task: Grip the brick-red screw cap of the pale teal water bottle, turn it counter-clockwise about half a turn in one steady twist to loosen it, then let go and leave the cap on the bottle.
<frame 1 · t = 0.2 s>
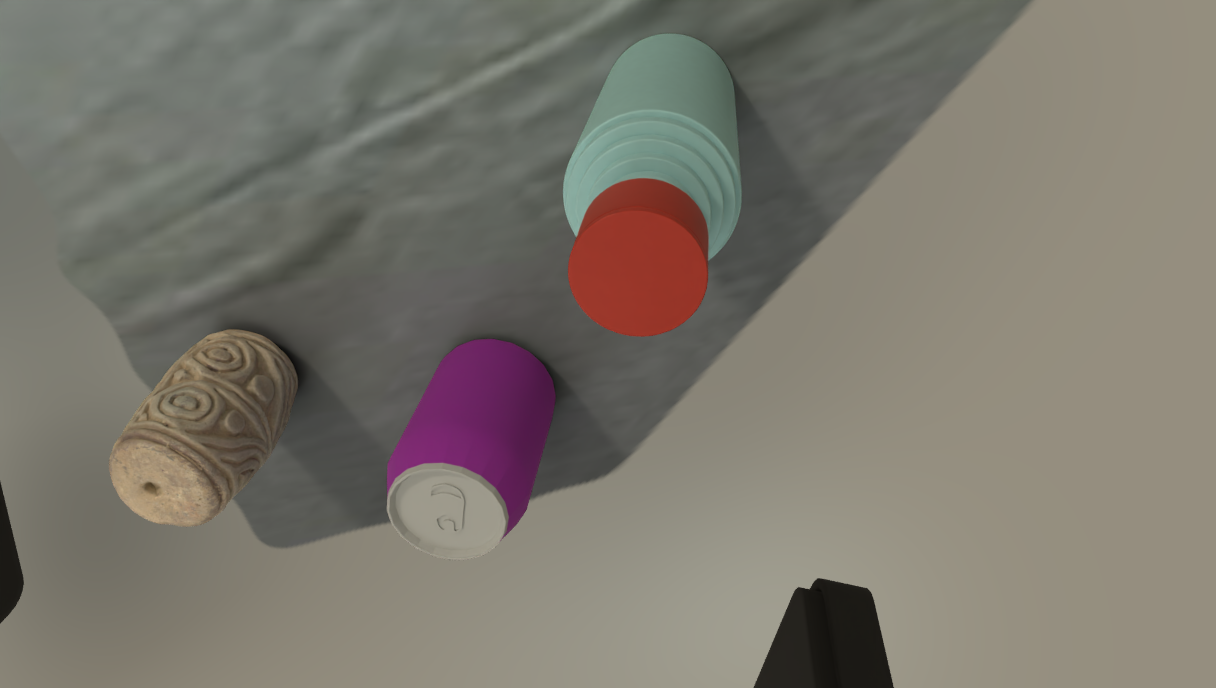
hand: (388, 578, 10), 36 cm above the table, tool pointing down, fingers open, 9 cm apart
water bottle: (668, 101, 42), on the table
carving: (262, 363, 54), on the table
beverage can: (499, 382, 53), on the table
cap: (638, 272, 26), point 20 cm above the table, screwed on, not yet turned
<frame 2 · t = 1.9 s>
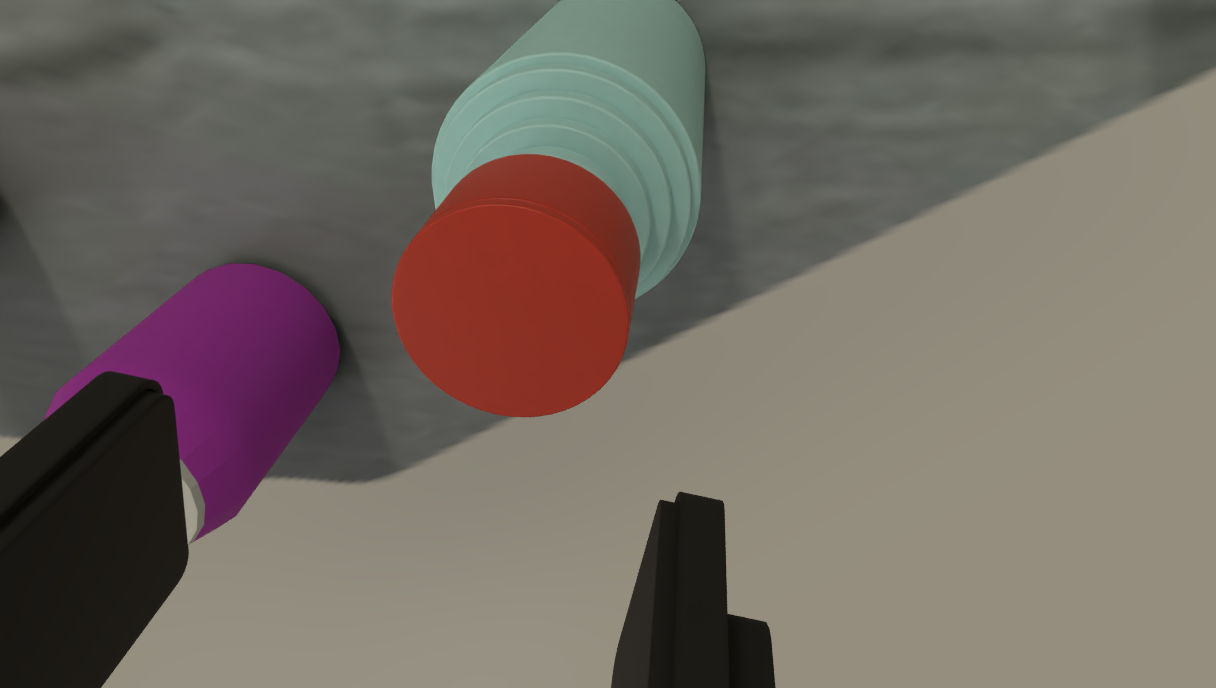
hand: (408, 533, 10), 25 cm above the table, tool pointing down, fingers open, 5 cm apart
water bottle: (618, 71, 32), on the table
beverage can: (270, 326, 40), on the table
cap: (512, 310, 15), point 20 cm above the table, screwed on, not yet turned
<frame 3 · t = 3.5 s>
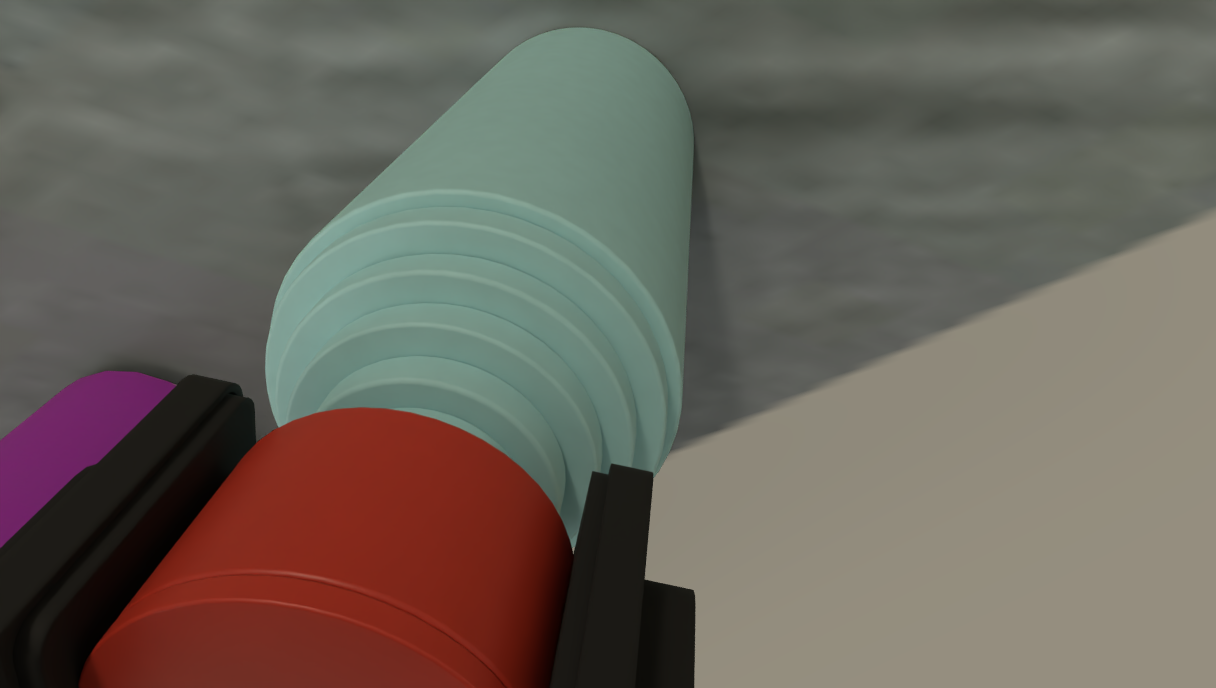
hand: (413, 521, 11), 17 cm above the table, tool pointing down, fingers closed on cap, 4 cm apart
water bottle: (582, 144, 25), on the table
beverage can: (165, 440, 33), on the table
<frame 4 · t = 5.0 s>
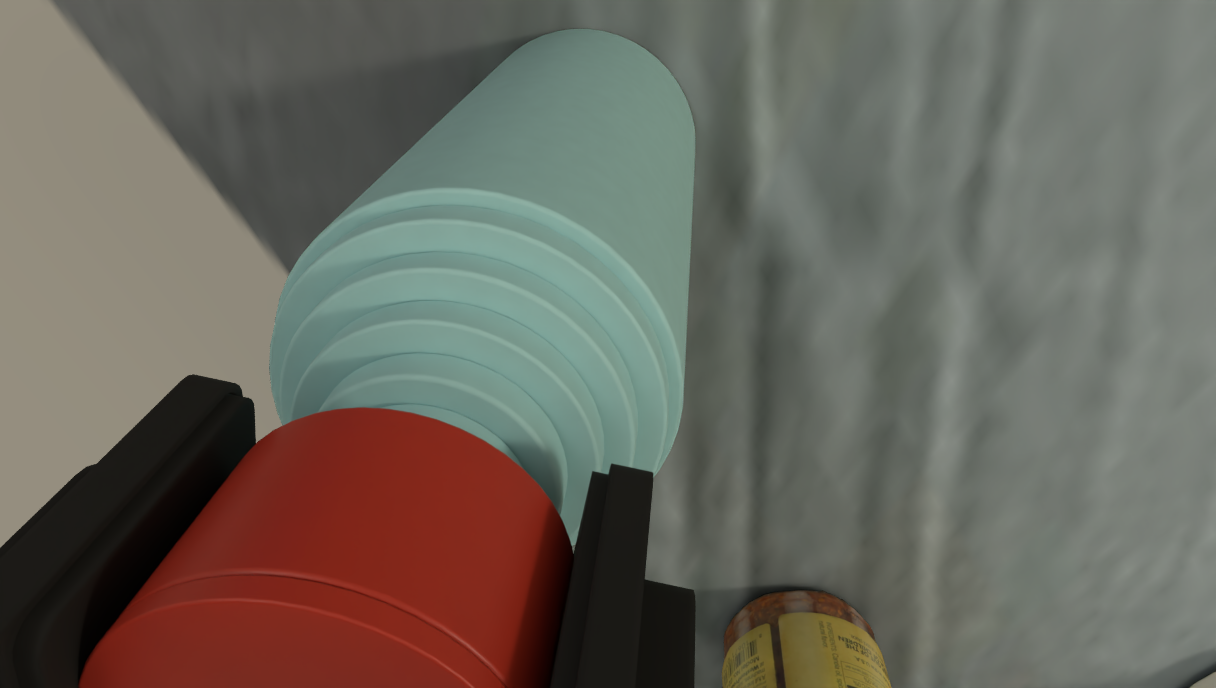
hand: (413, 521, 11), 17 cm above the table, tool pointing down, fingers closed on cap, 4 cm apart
sauce bottle: (801, 630, 34), on the table
water bottle: (584, 145, 25), on the table
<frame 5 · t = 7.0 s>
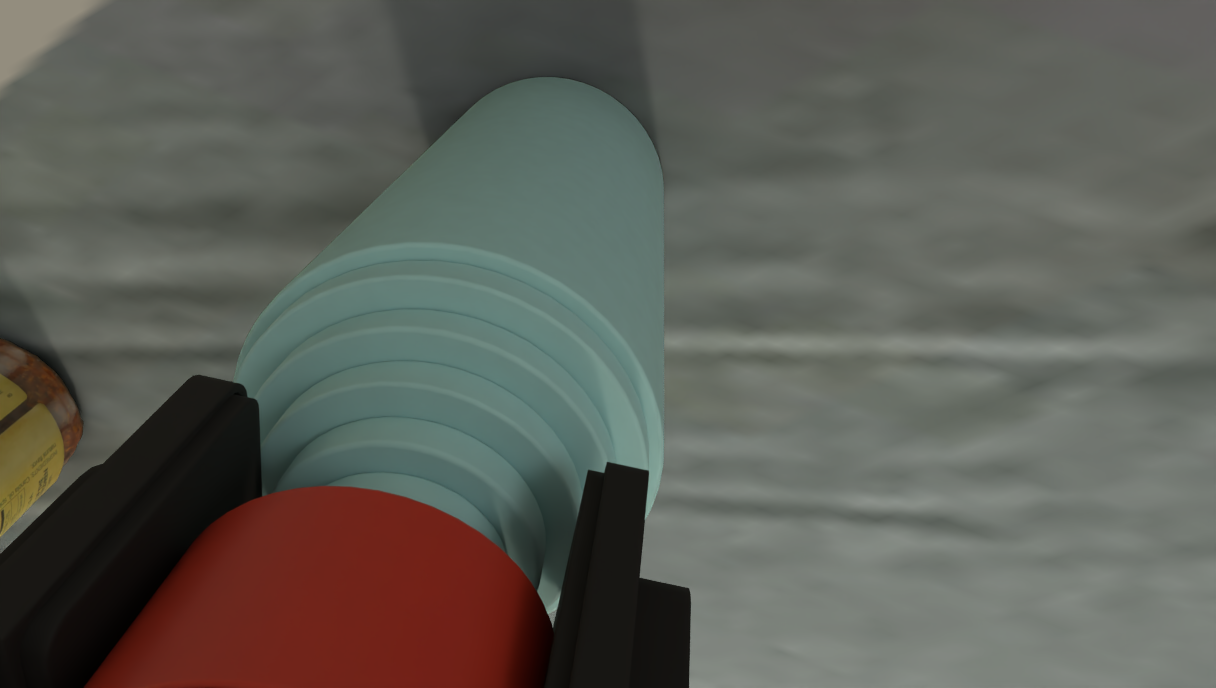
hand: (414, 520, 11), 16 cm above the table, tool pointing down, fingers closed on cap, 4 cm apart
sauce bottle: (16, 401, 30), on the table
water bottle: (551, 192, 25), on the table, touching gripper
when the fingers open (16 cm above the table, at t = 7.2 s): cap stays where it is, point 20 cm above the table.
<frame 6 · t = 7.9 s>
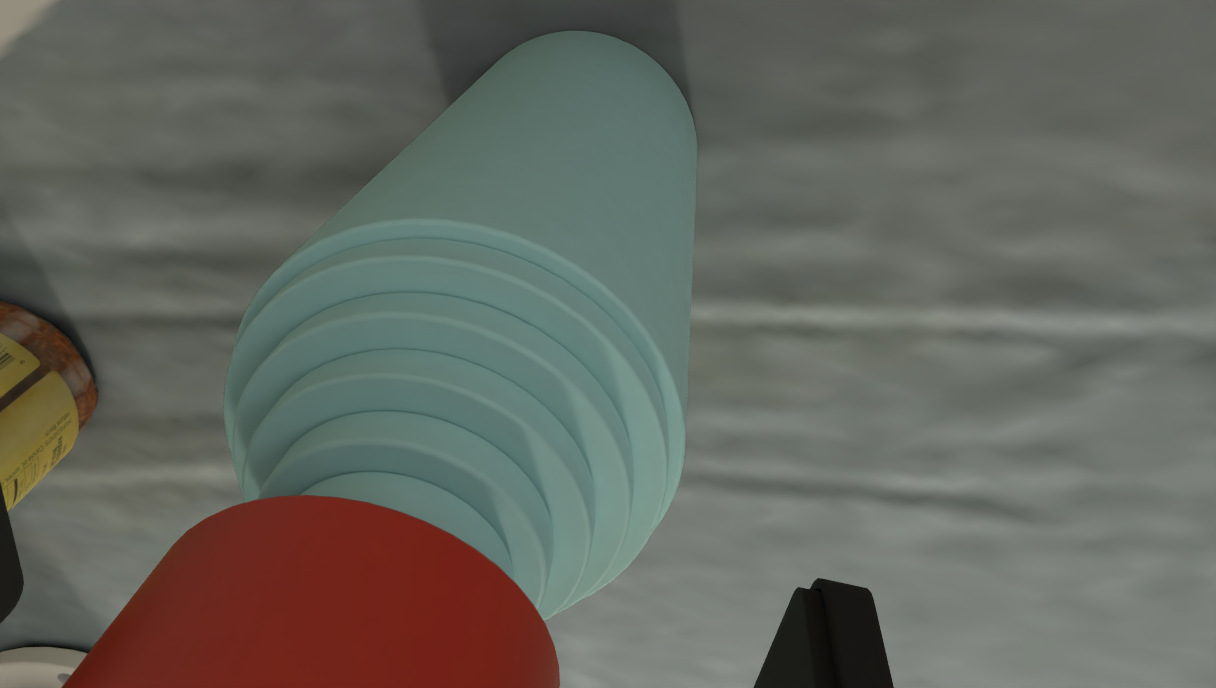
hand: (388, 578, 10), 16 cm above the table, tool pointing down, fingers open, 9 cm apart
sauce bottle: (30, 368, 30), on the table
water bottle: (579, 153, 24), on the table
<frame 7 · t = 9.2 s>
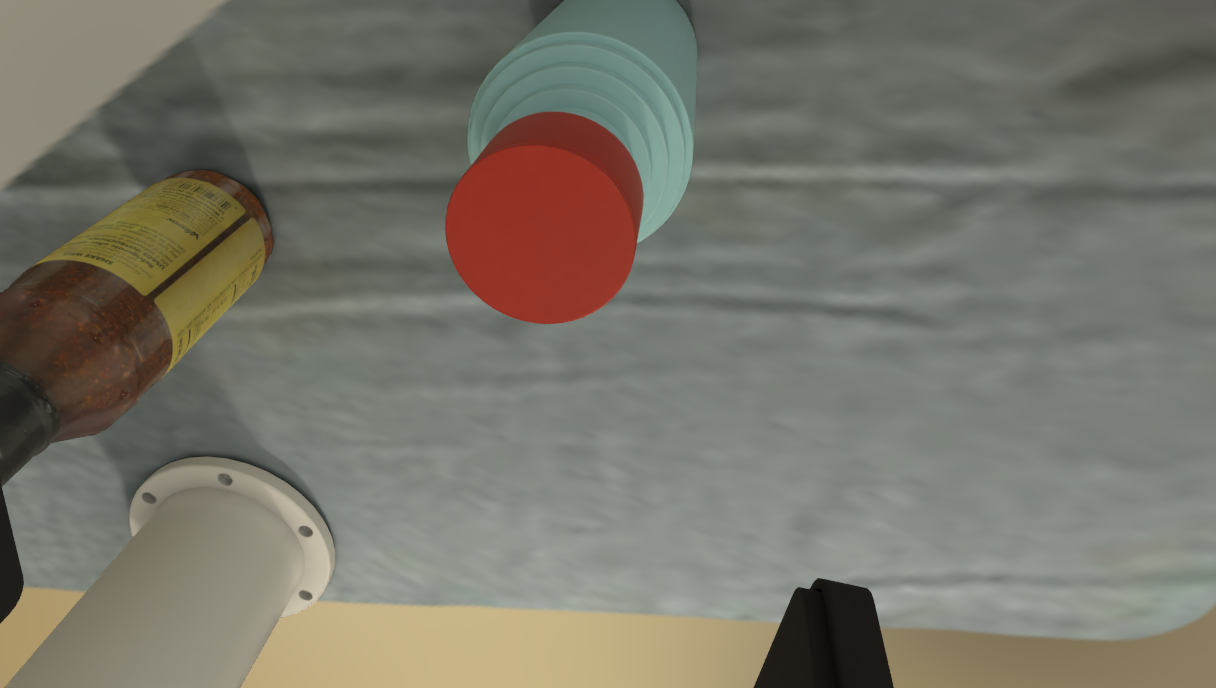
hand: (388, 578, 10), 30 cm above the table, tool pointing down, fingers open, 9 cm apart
sauce bottle: (224, 225, 42), on the table
water bottle: (620, 58, 36), on the table
cap: (541, 234, 19), point 20 cm above the table, turned 179° so far, risen 0.2 cm, still on its thread
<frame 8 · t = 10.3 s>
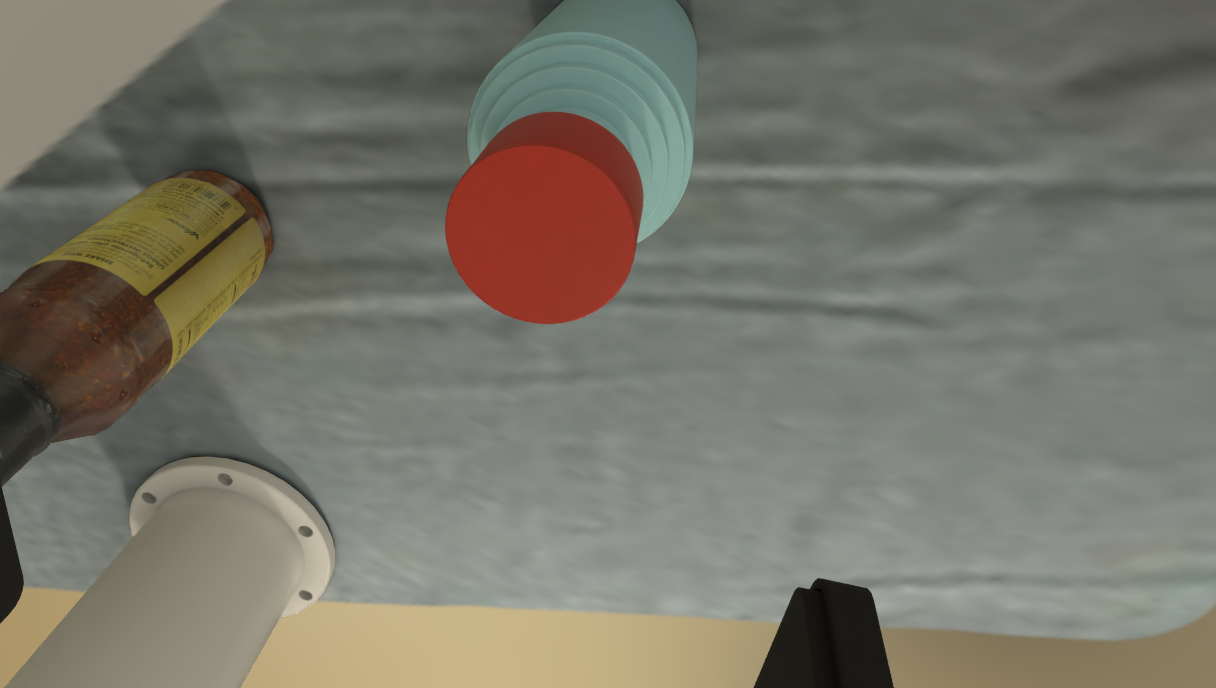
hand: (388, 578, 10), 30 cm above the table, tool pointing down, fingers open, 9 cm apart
sauce bottle: (224, 225, 42), on the table
water bottle: (620, 58, 36), on the table
cap: (541, 234, 19), point 20 cm above the table, turned 179° so far, risen 0.2 cm, still on its thread
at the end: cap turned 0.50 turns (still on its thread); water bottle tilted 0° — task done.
